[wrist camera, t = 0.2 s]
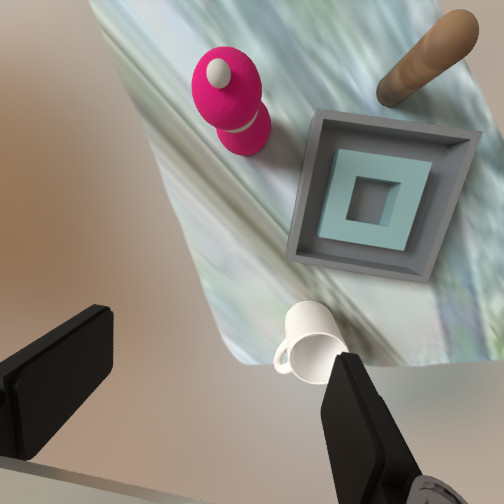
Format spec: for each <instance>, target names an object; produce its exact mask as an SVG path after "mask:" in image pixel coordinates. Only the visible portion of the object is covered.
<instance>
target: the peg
mask: <svg viewBox="0 0 504 504" xmlns="http://www.w3.org/2000/svg"><path fill="white" fill-rule="evenodd" d="M478 35H479V25H478V21H477V19H476V18H475V16H474V15H473V14H472V13H471V12H469V11H466V10H454V11H451V12H449V13H447V14H446V15H444V16H443V17H442V18H441V19H440V20H439V21H438V22H437V23H436V24H435V25H434V26H433V27H432V28H431V29H430V30H429V31H428V32H427V33H426V34H425V35H424V36H423V37H422V38H421V39H420V40H419V41H418V43H417V44H416V45H415V46H414V47H413V48H412V49H411V50H410V51H409V52H408V53H407V54H406V55H405V56H404V57H403V58H402V59H401V60H400V61H399V62H398V63H397V64H396V65H395V66H394V67H393V68H392V69H391V71H390V72H389V73H388V74H387V75H386V76H385V77H384V78H383V79H382V80H381V81H380V82H379V84H378V86H377V90H376V95H377V99H378V101H379V102H380V103H381V104H382V105H384V106H387V107H392V106H395V105H397V104H399V103H400V102H401V101H403V100H404V99H406V98H407V97H409V96H410V95H411V94H413V93H414V92H416V91H417V90H419V89H420V88H421V87H423V86H424V85H426V84H427V83H428V82H430V81H431V80H433V79H434V78H436V77H437V76H438V75H440V74H441V73H443V72H444V71H446V70H447V69H448V68H450V67H451V66H453V65H454V64H456V63H457V62H458V61H460V60H461V59H463V58H464V57H465V56H467V55H468V54H469V53H470V52H471V50H472V49H473V47H474V46H475V44H476V42H477V39H478Z"/></svg>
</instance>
